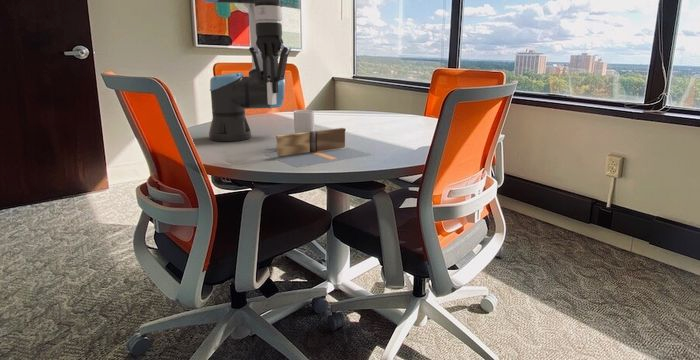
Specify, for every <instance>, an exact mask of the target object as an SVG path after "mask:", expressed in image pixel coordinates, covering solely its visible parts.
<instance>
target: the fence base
mask: <svg viewBox="0 0 700 360" xmlns="http://www.w3.org/2000/svg"><path fill="white" fill-rule="evenodd" d="M309 133H310V135H309V136H310V152H311V153H314V152H316V151H324V150H331V149H338V148H344V147H346V128H345V127H338V128H330V129H320V130H314V131H311V132H309Z"/></svg>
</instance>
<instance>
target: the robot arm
mask: <svg viewBox="0 0 700 360" xmlns="http://www.w3.org/2000/svg"><path fill="white" fill-rule="evenodd" d="M203 2H205V3H210V4H211V3H212V4H243V6H244V7H245V8H246V9H248V10H247V11H248V25H249V27H248V28H249V37H250V47H249V48H248V50H249V52H250V54H251V64H252V65H251V69H250V70H248V75H247V76H244V74H243V72H231V73H225V74H223V73H222V74H218V75H213V76H212V77H211V78H210V80H209V85H210V86H209V91H210V98H211V99H210V100H211V111H212V112H211V113H212V119H211V123H210V126H209V130H208V139H209V140H211V141H216V142H237V141H244V140H248V139H251V138H252V130H251V128H250V125H249V123H248V120H247V118H246V110H249V109H250V110H251V109H252V110H253V109H254V110H255V109H277V108H281V107H282V106H283V104H284V100H285V99H284V98H285V93H286V91H285V90H286V89H285V88H286V77H285V74H286V69H287V61H288V57H289V55H290V53H291V50H292V49H291V48H292V47H290V46H286V45H285V44H284V40H283V38H282V36H283V23H281V22H282V4H281V3H282V1H281V0H203Z"/></svg>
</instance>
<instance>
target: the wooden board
mask: <svg viewBox="0 0 700 360" xmlns="http://www.w3.org/2000/svg"><path fill="white" fill-rule="evenodd" d="M309 135H310V133H309V132H303V133H295V132H294V133H287V134H279V135H275V139H276V152H277V156H285V155H292V154H299V153H306V152H310V136H309Z"/></svg>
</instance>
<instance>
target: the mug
mask: <svg viewBox="0 0 700 360" xmlns="http://www.w3.org/2000/svg"><path fill="white" fill-rule="evenodd" d="M293 126H294V133H303V132H311V131H314V132H315V110H311V109H298V110H294V111H293Z"/></svg>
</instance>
